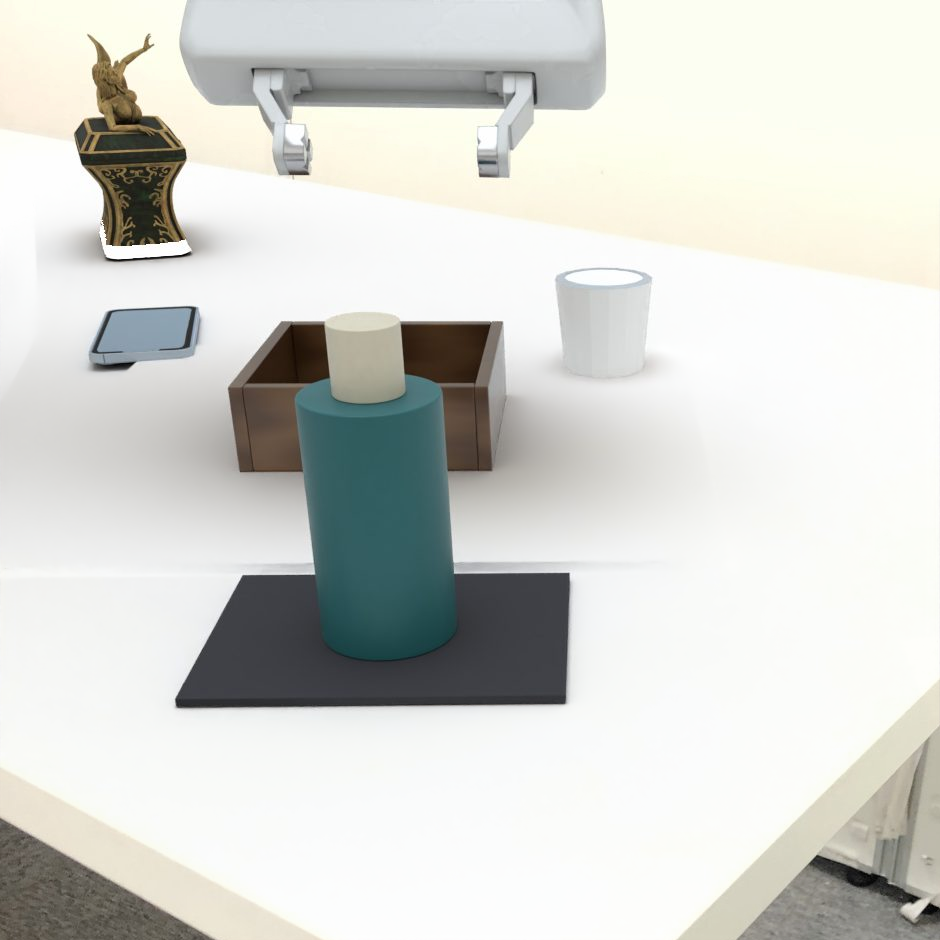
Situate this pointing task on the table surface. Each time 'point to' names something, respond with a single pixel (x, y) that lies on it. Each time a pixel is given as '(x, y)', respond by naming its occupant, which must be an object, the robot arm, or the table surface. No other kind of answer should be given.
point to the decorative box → (130, 159)
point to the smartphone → (145, 335)
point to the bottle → (377, 496)
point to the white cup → (603, 320)
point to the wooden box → (424, 355)
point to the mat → (386, 682)
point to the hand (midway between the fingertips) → (392, 169)
